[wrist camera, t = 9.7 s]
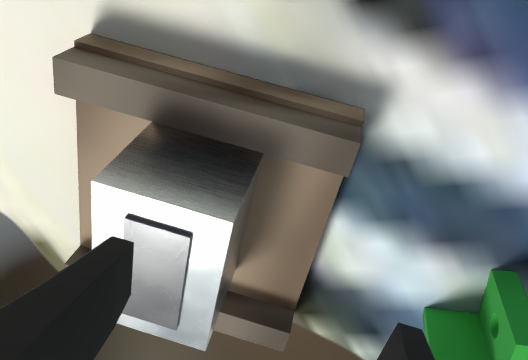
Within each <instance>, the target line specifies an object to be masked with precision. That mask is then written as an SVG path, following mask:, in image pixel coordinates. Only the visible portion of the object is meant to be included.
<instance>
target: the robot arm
mask: <svg viewBox="0 0 528 360" xmlns="http://www.w3.org/2000/svg"><path fill="white" fill-rule="evenodd" d="M133 253H134V242H131V241H128V240H125V239H122V238H118V237H115V236H111V237H109V238H108V239H106V240H105V241H103V242H102V243H101V244H99V245H98V246H96V247H95V248H94V249H92V250H91V251H89V252H88V253H86V254H85V255H84V256H82V257H81V258H79V259H78V260H76V261H75V262H73V263H72V264H70V265H69V266H67V267H66V268H64V269H63V270H61V271H60V272H58V273H57V274H55V275H54V276H52V277H51V278H49V279H48V280H46V281H45V282H43V283H41V284H40V285H38V286H37V287H35V288H33V289H32V290H30V291H28V292H26V293H25V294H23V295H21V296H20V297H18V298H16V299H15V300H13V301H11V302H10V303H8V304H6V305H4V306H3V307H1V308H0V360H93V359H94V358H95V356H96V355H97V353H98V352H99V350H100V349H101V347H102V346H103V344H104V343H105V341H106V340H107V338H108V337H109V335H110V333H111V332H112V330H113V329H114V327H115V325H116V323H117V321H118V319H119V318H120V316H121V314H122V312H123V310H124V308H125V306H126V304H127V302H128V300H129V298H130V296H131V287H132V270H133ZM377 360H435V358H434V356H433V354H432V351H431V349H430V347H429V344H428V342H427V340H426V338H425V335H424V333H423V331H422V330H421V329H418V328H415V327H411V326H408V325H405V324H401V323H398V324H397V326H396V327H395V329H394V331H393V333H392V334H391V336H390V338H389V340H388V341H387V343H386V345H385V347H384V348H383V350H382V352H381V354H380V355H379V357H378V359H377Z"/></svg>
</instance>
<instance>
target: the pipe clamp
mask: <svg viewBox="0 0 528 360" xmlns="http://www.w3.org/2000/svg"><path fill="white" fill-rule="evenodd" d="M423 324H424V332H425V338H426V340H427V342H428V344H429V347H430V349H431V351H432V354H433V356H434V358H435V360H528V299H527V296H526V294H525V291H524V289H523V286H522V284H521V281H520V279H519V276H518V274H517V272H510V271H500V270H491V272H490V276H489V279H488V282H487V286H486V289H485V293H484V296H483V300H482V303H481V306H480V310H479V313H478V314H476V313H468V312H459V311H451V310H442V309H434V308H424V313H423Z"/></svg>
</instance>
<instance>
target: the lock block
mask: <svg viewBox="0 0 528 360" xmlns="http://www.w3.org/2000/svg"><path fill="white" fill-rule="evenodd" d="M262 158H263V153H260V152H257V151H253V150H250V149H246V148H243V147H240V146H236V145H233V144H229V143H226V142H222V141H219V140H215V139H212V138H208V137H205V136H201V135H198V134H194V133H191V132H187V131H184V130H180V129H177V128H173V127H170V126H166V125H163V124H159V123H156V122H151V123H150V124H149V125H148V126H147V127H146V128H145V129H144V130H143V131H142V132H141V133H140V134H139V135H138V136H137V137H136V138H135V139H134V140H133V141H132V142H131V143H130V144H129V145H127V146H126V147H125V148H124V149H123V150H122V151H121V152H120V153H119V154H118V155H117V156H116V157H115V158H114V159H113V160H112V161H111V162H110V163H109V164H108V165H107V166H106V167H105V168H104V169H103V170H102V171H101V172H100V173H99V174H98V175H97V176H96V177H95V178H94V179H93V180H92V181H91V201H92V249H94V248H95V247H96V246H98V245H99V244H101V243H102V242H103V241H105V240H106V239H108V238H109V237H111V236H115V237H118V238H122V239H125V240H128V241H131V242H134V253H133V270H132V287H131V296H130V298H129V300H128V302H127V304H126V306H125V308H124V310H123V312H122V314H121V316H120V318H119V319H118V321H117V323H118V324H121V325H124V326H127V327H130V328H134V329H137V330H140V331H143V332H146V333H149V334H152V335H155V336H159V337H162V338H165V339H168V340H171V341H174V342H178V343H181V344H184V345H187V346H191V347H194V348H197V349H200V350H203V351H205V350H206V348H207V345H208V342H209V340H210V337H211V334H212V332H213V329H214V326H215V324H216V321H217V318H218V316H219V313H220V310H221V307H222V305H223V302H224V299H225V297H226V294H227V291H228V289H229V286H230V283H231V281H232V278H233V275H234V273H235V270H236V266H237V262H238V258H239V253H240V249H241V245H242V241H243V237H244V233H245V228H246V224H247V220H248V216H249V212H250V208H251V203H252V199H253V195H254V191H255V187H256V183H257V178H258V174H259V170H260V166H261V162H262Z"/></svg>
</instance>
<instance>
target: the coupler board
mask: <svg viewBox="0 0 528 360" xmlns="http://www.w3.org/2000/svg"><path fill="white" fill-rule="evenodd" d="M52 58H53V75H54V92H55V94H58V95H61V96H65V97H68V98H72V99H75V100H76V114H77V147H78V180H79V212H80V247H79V248H78V249H77V250H76V251H75V252H74V254H73V255H72V256H71V257H70V258H69V259H68V261H67V262H66V263H65V268H66V267H67V266H69V265H70V264H72V263H73V262H75V261H76V260H78V259H79V258H81V257H82V256H84V255H85V254H86V253H88V252H89V251H91V250H92V201H91V181H92V180H93V179H94V178H95V177H96V176H97V175H98V174H99V173H100V172H101V171H102V170H103V169H104V168H105V167H106V166H107V165H108V164H109V163H110V162H111V161H112V160H113V159H114V158H115V157H116V156H117V155H118V154H119V153H120V152H121V151H122V150H123V149H124V148H125V147H126V146H127V145H129V144H130V143H131V142H132V141H133V140H134V139H135V138H136V137H137V136H138V135H139V134H140V133H141V132H142V131H143V130H144V129H145V128H146V127H147V126H148V125H149V124H150V123H151V122H156V123H159V124H163V125H166V126H170V127H173V128H177V129H180V130H184V131H187V132H191V133H194V134H198V135H201V136H205V137H208V138H212V139H215V140H219V141H222V142H226V143H229V144H233V145H236V146H240V147H243V148H246V149H250V150H253V151H257V152H260V153H263V158H262V162H261V166H260V170H259V174H258V178H257V183H256V187H255V191H254V195H253V199H252V203H251V208H250V212H249V216H248V220H247V224H246V228H245V233H244V237H243V241H242V245H241V249H240V253H239V258H238V262H237V266H236V270H235V273H234V275H233V278H232V281H231V283H230V286H229V289H228V291H227V294H226V297H225V299H224V302H223V305H222V307H221V310H220V313H219V316H218V318H217V321H216V324H215V326H214V329H213V330H214V331H218V332H221V333H224V334H227V335H230V336H234V337H237V338H240V339H243V340H246V341H250V342H253V343H256V344H259V345H262V346H266V347H269V348H272V349H276V350H279V351H282V352H283V351H284V348H285V346H286V343H287V340H288V337H289V335H290V331H291V325H292V320H293V315H294V310H295V308H296V305H297V302H298V299H299V297H300V294H301V291H302V288H303V286H304V283H305V280H306V277H307V275H308V272H309V269H310V266H311V264H312V261H313V258H314V256H315V253H316V250H317V247H318V245H319V242H320V239H321V236H322V234H323V231H324V228H325V225H326V223H327V220H328V217H329V214H330V212H331V209H332V206H333V204H334V201H335V198H336V195H337V193H338V190H339V187H340V184H341V182H342V179H343V176H345V177H349V174H350V172H351V169H352V166H353V164H354V161H355V158H356V156H357V153H358V150H359V147H360V145H361V129H362V124H363V121H364V109H361V108H358V107H354V106H350V105H347V104H343V103H339V102H336V101H332V100H329V99H325V98H321V97H318V96H314V95H310V94H307V93H303V92H300V91H296V90H292V89H289V88H285V87H281V86H278V85H274V84H271V83H267V82H263V81H260V80H256V79H252V78H249V77H245V76H242V75H238V74H234V73H231V72H227V71H223V70H220V69H216V68H213V67H209V66H205V65H202V64H198V63H195V62H191V61H187V60H184V59H180V58H176V57H173V56H169V55H166V54H162V53H158V52H155V51H151V50H147V49H144V48H140V47H137V46H133V45H129V44H126V43H122V42H118V41H115V40H111V39H108V38H104V37H100V36H97V35H93V34H88V35H86V36H84V37H81V38H79V39H77V40H75V41H74V47H73V48H71V49H69V50H66V51H64V52H62V53H60V54H58V55H56V56H54V57H52Z"/></svg>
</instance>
